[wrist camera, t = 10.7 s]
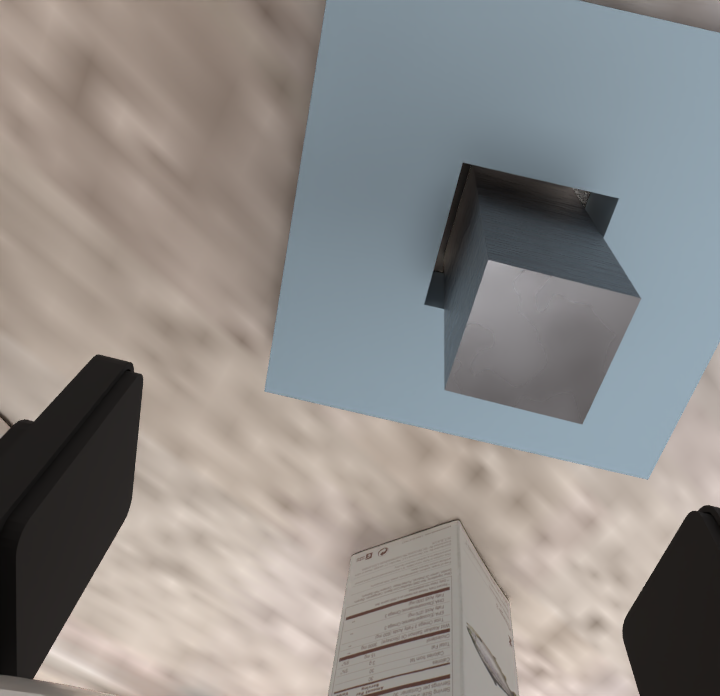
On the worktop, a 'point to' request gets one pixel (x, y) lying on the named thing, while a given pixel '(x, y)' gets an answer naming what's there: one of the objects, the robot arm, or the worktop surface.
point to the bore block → (511, 155)
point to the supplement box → (424, 622)
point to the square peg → (530, 297)
